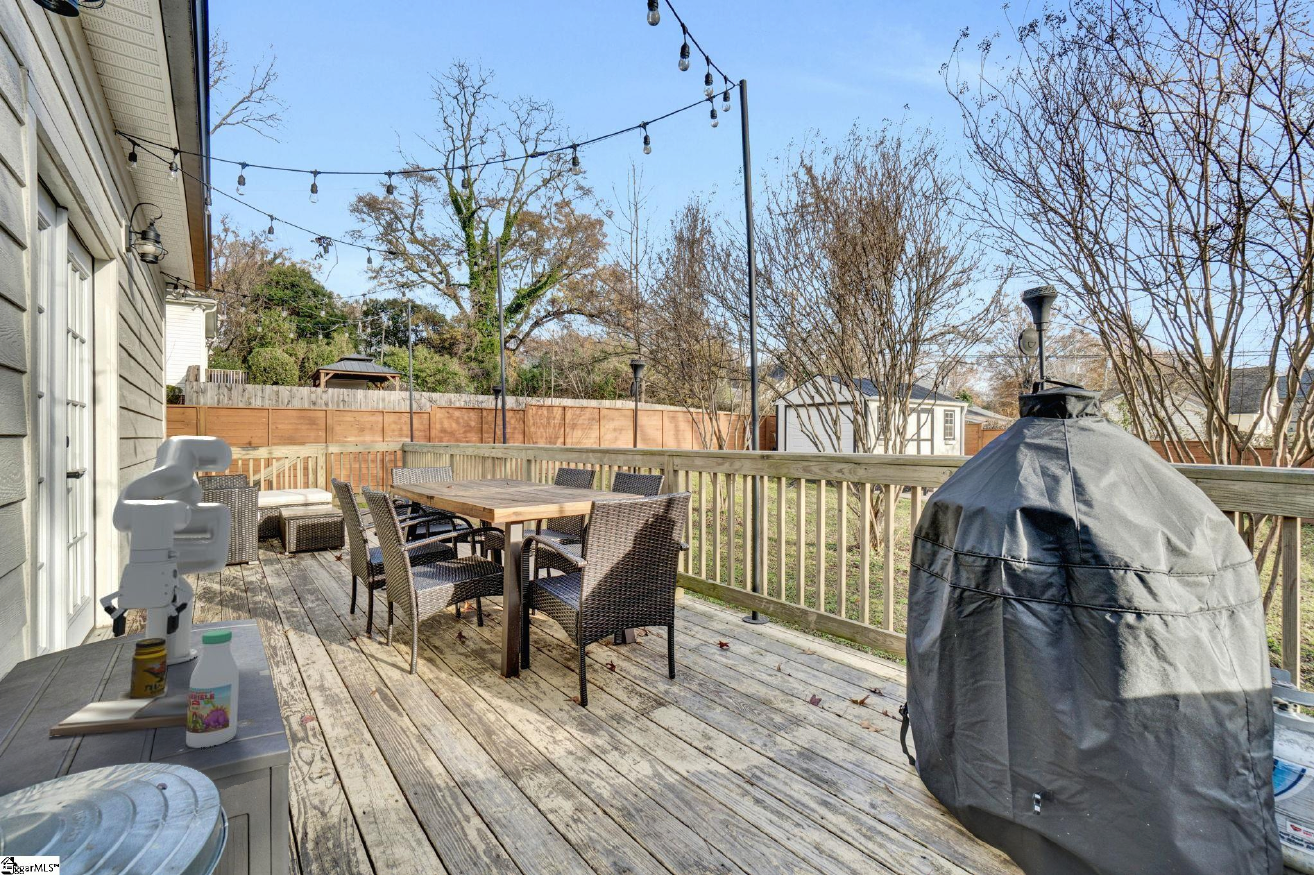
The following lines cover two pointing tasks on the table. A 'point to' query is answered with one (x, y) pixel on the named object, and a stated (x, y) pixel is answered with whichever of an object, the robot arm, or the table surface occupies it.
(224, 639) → the milk bottle
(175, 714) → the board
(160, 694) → the condiment
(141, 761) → the table surface
